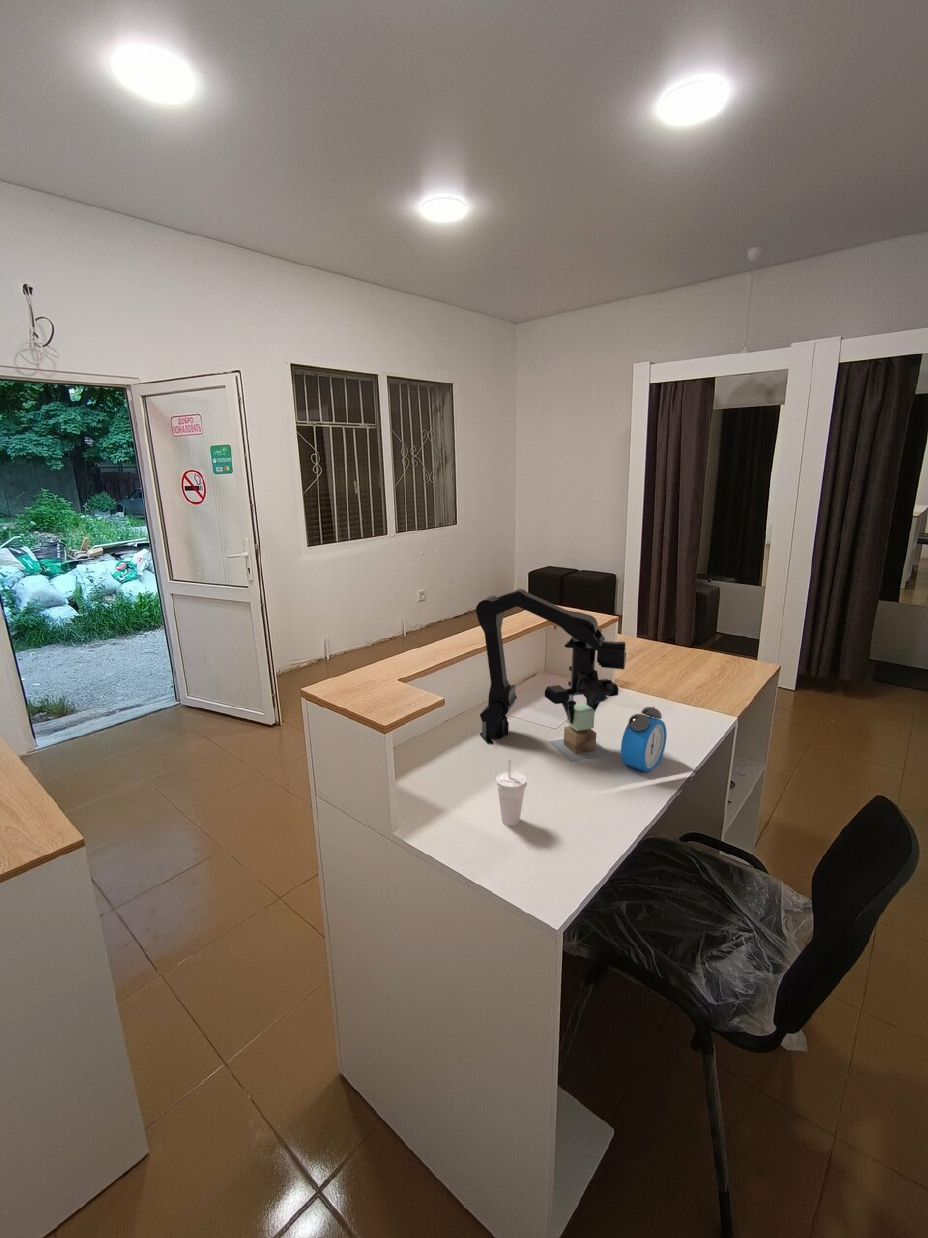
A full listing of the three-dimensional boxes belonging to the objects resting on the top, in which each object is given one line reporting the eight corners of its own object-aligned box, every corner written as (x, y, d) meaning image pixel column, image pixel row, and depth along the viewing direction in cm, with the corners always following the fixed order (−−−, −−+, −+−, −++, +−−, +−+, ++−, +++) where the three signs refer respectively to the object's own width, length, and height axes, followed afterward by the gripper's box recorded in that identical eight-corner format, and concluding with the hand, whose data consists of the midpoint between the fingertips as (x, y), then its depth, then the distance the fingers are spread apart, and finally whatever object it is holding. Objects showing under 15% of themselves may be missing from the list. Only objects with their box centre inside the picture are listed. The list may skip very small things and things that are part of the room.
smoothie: (506, 808, 122) (507, 749, 119) (531, 819, 118) (533, 758, 115) (489, 822, 117) (489, 760, 114) (514, 833, 113) (515, 770, 110)
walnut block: (575, 754, 145) (576, 736, 144) (563, 744, 150) (564, 727, 149) (595, 750, 147) (596, 733, 145) (583, 741, 152) (584, 724, 151)
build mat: (570, 765, 141) (570, 761, 141) (548, 744, 152) (548, 741, 152) (611, 757, 145) (611, 754, 145) (586, 738, 156) (587, 735, 156)
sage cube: (576, 731, 144) (577, 712, 143) (566, 723, 148) (567, 705, 147) (593, 728, 145) (594, 710, 144) (583, 720, 150) (584, 703, 149)
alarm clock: (641, 781, 133) (646, 722, 130) (617, 773, 137) (621, 715, 134) (665, 762, 143) (669, 706, 139) (642, 754, 147) (646, 700, 143)
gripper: (566, 679, 133) (563, 740, 136) (633, 670, 139) (629, 729, 142) (544, 665, 143) (542, 722, 147) (607, 657, 149) (604, 712, 153)
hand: (580, 722), depth 147 cm, fingers closed on sage cube, 5 cm apart
